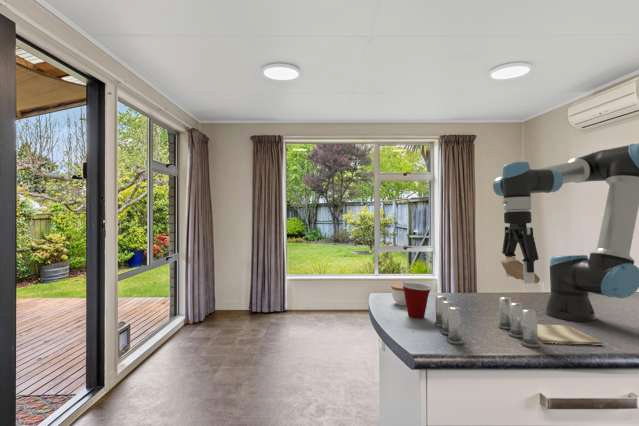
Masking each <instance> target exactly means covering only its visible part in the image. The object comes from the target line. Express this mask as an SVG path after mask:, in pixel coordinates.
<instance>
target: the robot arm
mask: <svg viewBox="0 0 639 426" xmlns="http://www.w3.org/2000/svg"><path fill="white" fill-rule="evenodd" d="M586 182H605V183H606V184H608V186H609V188H608V192H607V196H606V202H605V207H604V212H603V216H602V221H601V227H600V232H599V236H598V241H597V244H596V245H597V246H596V250H592V251H591V252H590V253H589V256H588V255H586V254H575V255H554V256H552V257H551V258H550V262H549V263H550V264H549V281H550V283H549V285H550V294H549V296H548V300H547V302H546V305H545V314H546V315H548V316H551V317H553V318H557V319H562V320H566V321H573V322H593V321H592V320H594V321H596V313H595V311H594V307H593V305H592V303H591V300H590V298H589V297H590V296H589V293H591V294H597V295H601V296H605V297H609V298H618V299H626V298H627V299H628V298H629V297H631V296H632V295H634V294H635V293H637V292H638V290H639V267H638V266H636V265H635V260H634V258H632V256H631V255H630V253H631V248H632V243H633V239H634V238H633V237H634V233H635V229H636V222H637V217H638V214H639V213H638V212H639V142H638V143H631V144H628V145H627V144H626V145H622V146H618V147H612V148H608V149H602V150H599V151H595V152H592V153H589V154H586V155H583V156H580V157H575V158H572V159H569V160H568V162H565V163H560V164H559V163H558V164H555V165H550V166H545V167H541V168H538V169H537V168H536V169H535V168H534V169H531V165H530V163H529V162H528V161H527V162H526V161H516V162H515V161H514V162H508V163H506V164H504V165H503V166H502V175H501V176H499V177H496V178H495V179H494V181H493V182H492V189H493V192H494V193H495V194H496V195H497V196H500V197H503V200H502V202H501V203H502V204H503V210H504V211H505V212H504V213H503V220H504V221H503V222H504V224H509V226H504V236H503V243H502V244H503V245H502V251H501V252H502V255H504V256H505V258H506V257H507V258H512V259H513V260H514V259H516V253H515V252H516V249H517V245H519V248H520V251H521V253H522V256H523V259H522V260H521V261H522V264H523V272H524V280H523V283H524V284H536V283H535V277H534V273H535V262H536V261H538V260H539V253H538V250H537V245H536V242H535V238H534V228H533V227H531V226H530V227H528V226H527V224H531V223H532V212H531V211H530V210H532V196H531V195H532V194H541V193H543V194H544V193H546V194H550V193H555V192H557V191H559V190H560V189H561V188H562V187H563V185H564V184H569V183H576V184H579V183H580V184H581V183H586ZM505 274H506V277H512V276H511V275H509V274H507V273H506V272H505Z"/></svg>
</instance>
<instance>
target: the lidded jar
mask: <svg viewBox="0 0 639 426" xmlns="http://www.w3.org/2000/svg"><path fill="white" fill-rule="evenodd" d="M403 283H406V282H405V281H403V282H402V283H395V284H392V285H391V286H390V287H391V295H392V298H393V300H394V302H395V303H396V304H397V305H398V304H399V306H403V305H406V301H405V294H404V289H403V286H402V284H403Z"/></svg>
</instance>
